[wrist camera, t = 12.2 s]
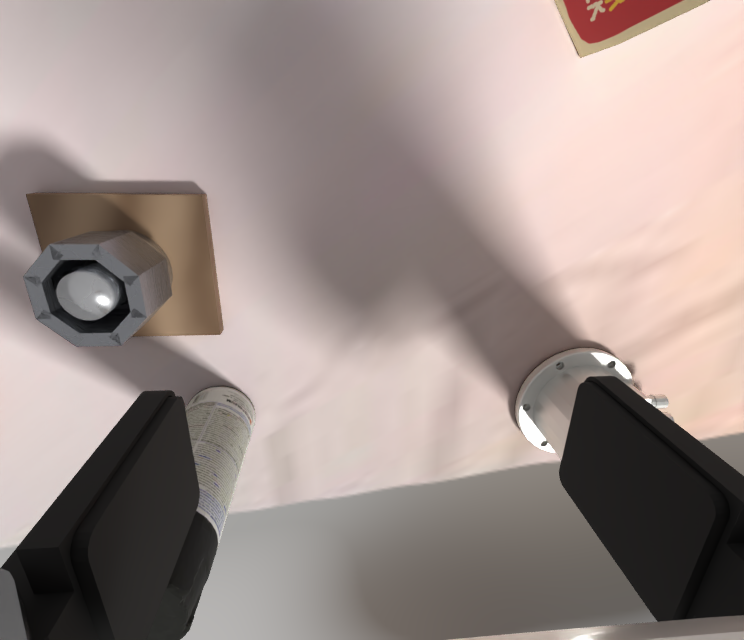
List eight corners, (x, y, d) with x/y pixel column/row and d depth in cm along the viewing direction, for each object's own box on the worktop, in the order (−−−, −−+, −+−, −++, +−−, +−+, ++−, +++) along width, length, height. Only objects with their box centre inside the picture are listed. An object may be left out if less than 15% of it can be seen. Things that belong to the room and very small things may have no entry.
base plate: (206, 194, 34) (202, 195, 33) (223, 329, 38) (220, 334, 37) (36, 192, 33) (25, 194, 31) (74, 332, 37) (66, 337, 36)
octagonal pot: (161, 231, 31) (132, 244, 27) (176, 319, 34) (152, 345, 30) (61, 230, 31) (13, 244, 26) (84, 320, 33) (44, 347, 29)
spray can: (187, 437, 42) (75, 658, 24) (187, 379, 40) (62, 575, 21) (254, 442, 43) (196, 658, 25) (258, 385, 41) (197, 578, 22)
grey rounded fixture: (165, 229, 33) (125, 248, 27) (178, 306, 36) (144, 340, 29) (79, 229, 33) (16, 248, 26) (98, 308, 35) (45, 342, 29)
